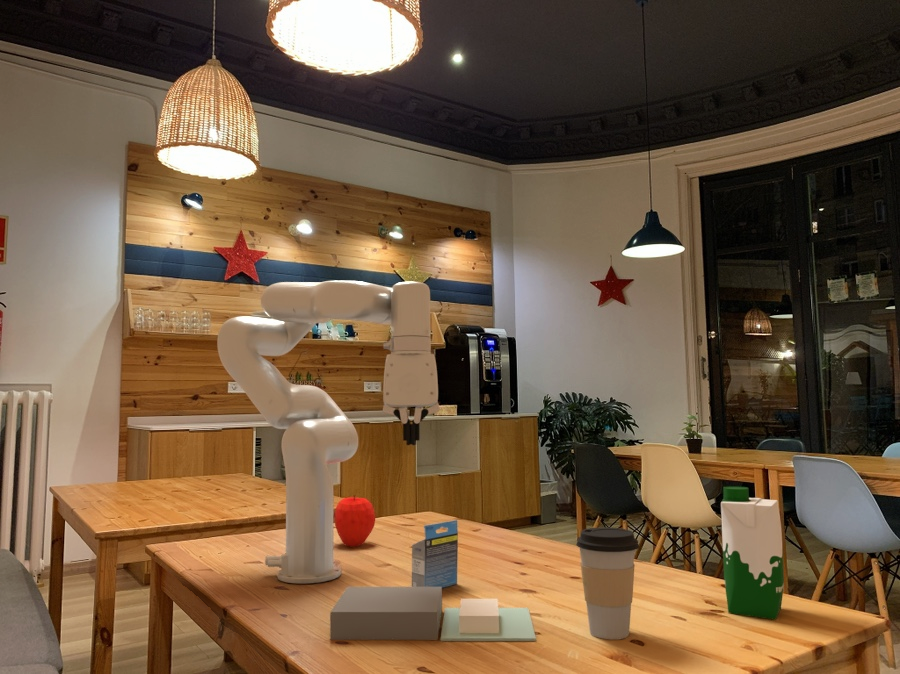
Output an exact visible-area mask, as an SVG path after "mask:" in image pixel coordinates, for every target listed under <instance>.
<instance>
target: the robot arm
mask: <svg viewBox="0 0 900 674" xmlns="http://www.w3.org/2000/svg"><path fill="white" fill-rule="evenodd" d="M260 297H261V298H260V305H261V308H262V310H263V312H264V314H266V315H267V316H268V317H269V318H266V317H258V316H250V315H249V316H248V315H240V316H235V317H231V318H229V319H227V320H225V322H224V323H222V325H221V326H220V328H219V331H218V334H217V339H216V340H217V352H218V357H219V359H220V362H221V364H222V366H223V368H224V369H225V371H226V372H227V373H228V374H229V376H230V377H231V378H232V379H233V380H234V382H235V383H236V384H237V385H238V386H239V388H241V389H242V390H243V392H244V393H245V395H246V396H247V397H248V399H249V400H250V401H251V403H252V404H253V405H254V406H255V408H256V410H258V411H259V414H261V415H262V417H263V418H264V419H265V421H266V422H267V423H268V424H269V425H270V426H271V427H273V428H275V429H278V430H284V433H283V435H282V438H281V453H282V458H283V464H284V469H285V502H286V503H285V552H284V553H281V554H280V555H266V556H265V559H264V564H265V566H267V568H268V567H269V568H276V567H279V569H280V570H278V571H277V580H279V581H280V582H284V583H287V584H288V583H289V584H301V585H302V584H307V585H308V584H318V583H324V582H328V581H332V580H335V579H337V578H339V577H340V576H341V575H342V568H341V567H340V566H338V565H335V564H334V516H335V509H334V502H335V501H334V500H335V499H334V482H333V479H332V476H331V473H330V471H329V468H328V466H327V465H330V464H338V463H342V462H346V461H348V460H350V459H351V458H352V457H353V456H354V455H355V454H356V453H357V450H358V448H359V435H358V431H357V430H356V428H355V426H354V424H353V423H352V421H351V419H350V418H348V416H346V414H345V412H344V411H343V410H342V409H341V408H340V407H339V406H338V404H337V403H336V401H334V400H333V399H332V397H331V396H330V394H328V393H327V392H326V391H325V390H323V389H322V388H320V387H318V386H315V385H309V384H294V383H292V382H289V381H288V380H287V378H286V377H285V376H284V375H283V374H282V373H281V372H280V370H279V369H278V368H277V366H275V365H274V364H273V363H272V362H271V361H269V360H267V359H266V358H264V357H263V356H267V357H281V356H283V355H286V354H289V352H291V350H293V349H294V347H296V346H297V344H298V343H299V342H300V341H302V340H303V338H304V337H305V336H306V335H307V334H309V332H310V331H311V330H312V329H313V328H314V327H315V325H317V324H326V323H328V322H330V321H331V320H346V321H356V322H362V323H363V322H364V323H371V324H376V325H377V324H378V325H384V326H385V325H390V339H389V340H387V341H383V343H382V344H383V349H384V350H385V349H387V350H388V351H390V353H389V354H386V358H385V362H384V363H385V364H384V372H383V386H382V387H383V388H382V389H383V391H382V395H383V396H382V397H383V398H382V399H383V407H382V412H383V413H385V414H389V415H391V416H392V415H393V416H395V417H396V418H397V419H398V420H399V421H400V422H401V423H402V440H403V441H405V442H406V446H410V445H411V446H416V445H417V441H420V439H421V438H420V437H421V436H420V431H421V429H420V425H421V422H422V421H423V420H424V419H425V418H426V417H427V416H428V415H432V414H435V413H439V412H440V411H441V410H440V405H439V401H438V400H439V384H438V380H439V379H438V370H437V369H438V368H437V362H436V356H435V354H434V353H432V352H431V349H432V347H431V345H432V344H431V341H432V340H431V290H430V287H429V285H427V283H424V282H421V281H402V282H397V283H395V284H393V285H392V287H389V286H383V285H379V284H375V283H370V282H365V281H360V280H359V281H358V280H326V281H322V282H320V281H319V282H309V281H308V282H307V281H305V282H304V281H303V282H301V281H300V282H299V281H293V282H291V281H284V282H283V281H282V282H281V281H280V282H276V283H272V284H270V285H268V286H267V287H266V288H265V289H264V290H263V292H262V294H261V296H260ZM411 407H412V408H413V407H415V409H414V417H413V419H412V423H411V419H409V411H408V408H411ZM424 407H427V408H424Z"/></svg>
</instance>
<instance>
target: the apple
mask: <svg viewBox="0 0 900 674" xmlns="http://www.w3.org/2000/svg"><path fill="white" fill-rule="evenodd" d="M375 513H376V512H375V509H374V506H373V504H372V503H371V501H370V500H368V499H367V498H365V497H356V496H355V494H354V495H353V497H350V496H349V497H344V498H341V500H339V501H338V503H337V505H336V508H335V509H334V526H335V529H336V531H337V534H338V536H339V538H340V540H341V542H342V543H343V544H344V546H347V547H349V546H350V548H351V547H352V548H353V547H354V548H355V546H357V547H360V546H361V545H363V544H364V543H365V542H366V540H367V539H368V537H369V536H370V534H371V533H372V531H373V530H374V527H375V523H376V514H375Z"/></svg>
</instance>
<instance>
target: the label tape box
mask: <svg viewBox="0 0 900 674" xmlns="http://www.w3.org/2000/svg"><path fill="white" fill-rule="evenodd" d="M441 528H442V529H444V530H445V529H446V531H443V532H437V530H440V529H441ZM423 529H424V539H422V540H420V541H417V542H416V543H413V544H411V587H442V589H443V588H446V587H451V586H454V585H458V563H459V562H458V557H459V556H458V555H459V553H458V552H459V551H458V550H459V549H458V547H459V546H458V545H459V544H458V543H459V541H458V540H459V537H458V536H459V533H458V532H459V531H458V519H455V520H449V521H443V522H438V523H432V524H424V525H423Z"/></svg>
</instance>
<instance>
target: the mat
mask: <svg viewBox="0 0 900 674" xmlns="http://www.w3.org/2000/svg"><path fill="white" fill-rule="evenodd" d="M498 611H499V633H459V612H460V607H444V612H443V613H444V614H443V620H442V625H441V632H440V641H441V642H536V641H537V638H536V634H535V633H536V632H535V629H534V625H533V621H532V618H531V613H530V610H529V607H498Z"/></svg>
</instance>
